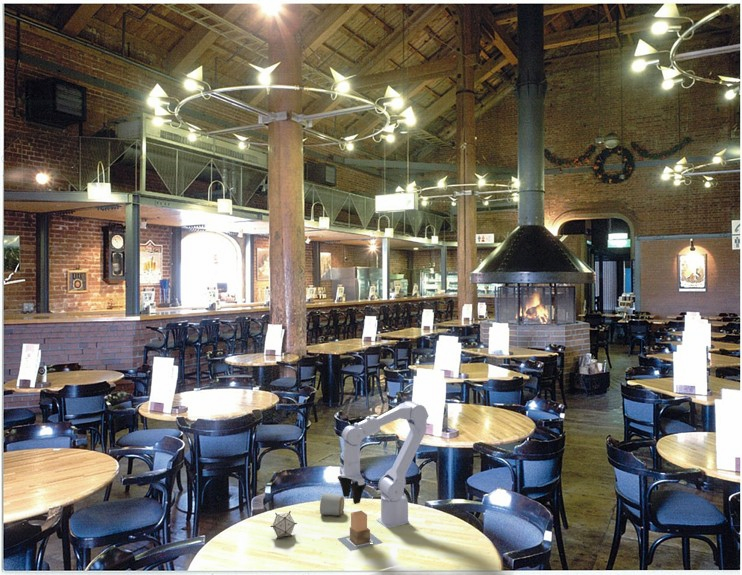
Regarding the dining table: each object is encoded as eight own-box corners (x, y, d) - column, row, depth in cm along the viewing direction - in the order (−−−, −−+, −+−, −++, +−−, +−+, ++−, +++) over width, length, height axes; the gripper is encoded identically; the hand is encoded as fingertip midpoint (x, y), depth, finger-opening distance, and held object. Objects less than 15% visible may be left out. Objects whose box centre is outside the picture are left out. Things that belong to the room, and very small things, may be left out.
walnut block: (362, 536, 186) (362, 524, 186) (370, 541, 182) (370, 529, 182) (349, 539, 183) (349, 527, 184) (356, 545, 179) (356, 532, 179)
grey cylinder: (341, 519, 201) (341, 498, 201) (319, 517, 202) (319, 496, 202) (346, 508, 211) (346, 488, 212) (325, 507, 212) (325, 487, 213)
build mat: (368, 532, 190) (368, 531, 190) (382, 543, 181) (382, 542, 181) (337, 539, 184) (337, 538, 184) (350, 551, 175) (350, 550, 175)
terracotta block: (361, 525, 185) (361, 510, 185) (367, 529, 182) (367, 514, 182) (350, 527, 183) (350, 512, 183) (356, 532, 180) (356, 517, 180)
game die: (286, 549, 185) (290, 533, 179) (264, 538, 186) (267, 522, 181) (299, 527, 192) (302, 511, 186) (277, 517, 194) (280, 500, 188)
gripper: (332, 457, 197) (332, 495, 196) (351, 468, 184) (351, 508, 184) (349, 454, 200) (349, 491, 200) (369, 465, 188) (369, 504, 187)
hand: (351, 499), depth 192 cm, fingers open, 7 cm apart
